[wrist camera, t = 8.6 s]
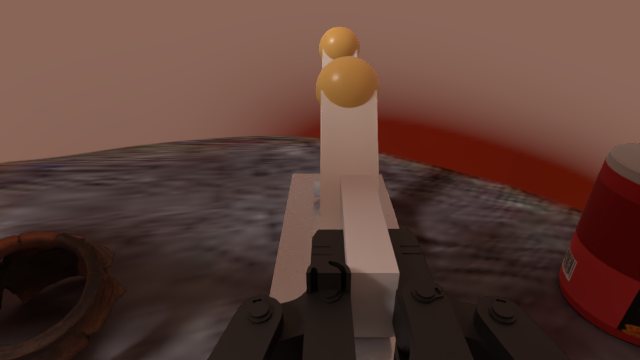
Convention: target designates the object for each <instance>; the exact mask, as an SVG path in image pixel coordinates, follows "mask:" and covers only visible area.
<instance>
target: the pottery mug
mask: <svg viewBox="0 0 640 360" xmlns="http://www.w3.org/2000/svg"><path fill="white" fill-rule="evenodd" d="M84 241H85V238H84V237H81V236H76V235H70V234H65V233H62V234H60V233H56V232H46V231H44V232H29V233H23V234H20V235H19V236H10V237H7V238H4V239H2V240H0V259H1V258H3V257H4V258H3V262H1V263H0V309H1V306H2V305H1V302H2V294H3V290H4V288H6V289H8V290H9V291H10V292H11V293H13V294H16V295H17V297H18V298H19V299H20V300H21V301H23V302H25V303H26V302H28V301H29V300H30V299H31V298H33V297H34V296H35V295H36V294H37V293H39V292H40V291H41V290H43V289H44V288H46V287H47V286H49V285H51V284H54V283H56V282H58V281H60V280H62V279H65V278H68V277H72V276H77V275H79V276H86V283H85V286H84V289H83V292H82V295H81V297H80V299H79V300H78V302H77V304H76V305H75V307H74V308H73V309H72V310H71V311H70V312H69V313H68V314H67V315H66V316H65V317H64V318H63V319H62V320H61V321H60V322H58V323H57V324H55V325H54V326H53V327H51V328H50V329H48V330H47V331H45V332H43V333H41V334H39V335H37V336H35V337H33V338H31V339H28V340H25V341H22V342H19V343H15V344H10V345H3V346H0V360H70V359H71V358H73V357H74V356H75V355H76V354H78V353H79V352H80V351H82V350H83V349H85V348H86V347H87V346H88V345H89V343H90V336H89V335H90V334H93V333H97V332H99V331H100V329H101V328H102V326H103V324H104V323H105V321H106V319H107V316H108V314H109V312H110V310H111V308H112V306H113V305H114V303H115V302H116V301H117V299H118V298H119V297H121V296H122V295H123V294H124V292H125V291H126V289H125V288H123V287H122V286H121V285H120V284H119V283H118V282H117V281H116V280H114V279H113V278H111V277H110V276H108V272H107V268H108V267H110V265H111V264H112V258H113V257H114V254H113V253H112V252H111V251H110V250H109V249H108V248H105V247H101V246H98V245H94V244H90V243H86V242H84Z"/></svg>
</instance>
